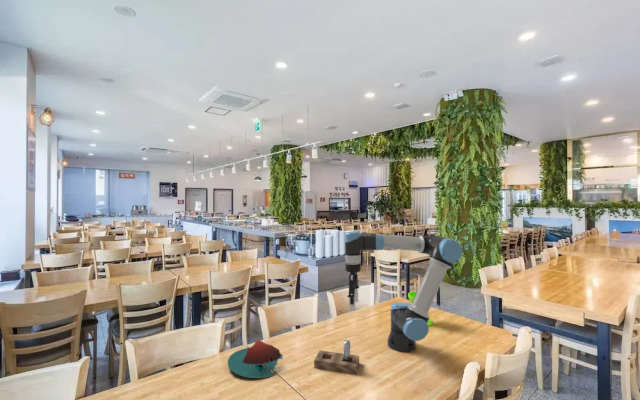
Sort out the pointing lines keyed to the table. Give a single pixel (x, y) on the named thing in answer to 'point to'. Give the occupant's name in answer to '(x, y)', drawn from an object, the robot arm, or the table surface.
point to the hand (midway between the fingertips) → (353, 305)
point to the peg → (347, 351)
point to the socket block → (336, 362)
